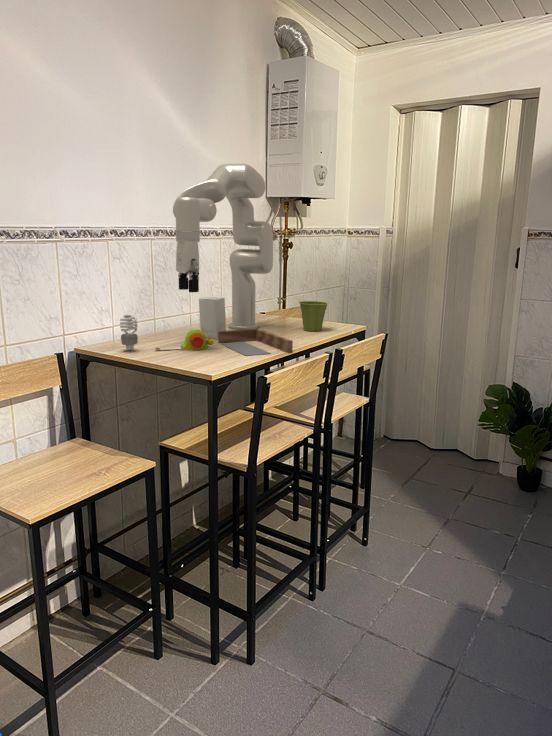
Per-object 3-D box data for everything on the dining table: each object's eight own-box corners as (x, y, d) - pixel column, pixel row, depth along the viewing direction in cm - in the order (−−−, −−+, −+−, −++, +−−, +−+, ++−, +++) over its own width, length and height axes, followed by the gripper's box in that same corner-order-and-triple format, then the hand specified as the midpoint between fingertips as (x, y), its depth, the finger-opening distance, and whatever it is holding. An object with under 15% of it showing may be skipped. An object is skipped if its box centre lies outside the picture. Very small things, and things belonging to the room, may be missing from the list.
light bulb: (117, 350, 189) (115, 314, 187) (132, 348, 194) (130, 312, 191) (127, 353, 186) (125, 316, 183) (142, 350, 190) (140, 314, 187)
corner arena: (218, 342, 206) (218, 331, 205) (258, 339, 213) (258, 328, 212) (249, 356, 184) (249, 344, 183) (292, 352, 191) (292, 340, 190)
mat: (220, 344, 203) (220, 343, 203) (243, 342, 207) (243, 341, 207) (245, 356, 185) (245, 355, 185) (270, 353, 189) (270, 353, 189)
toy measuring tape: (215, 350, 194) (215, 330, 192) (156, 352, 188) (155, 333, 186) (211, 346, 200) (211, 327, 198) (154, 349, 194) (153, 329, 192)
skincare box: (226, 337, 216) (226, 297, 212) (216, 339, 211) (216, 299, 207) (209, 334, 220) (208, 295, 217) (198, 337, 215) (198, 297, 212)
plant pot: (326, 333, 228) (328, 304, 225) (297, 332, 229) (297, 303, 227) (327, 328, 239) (328, 301, 237) (299, 327, 241) (299, 300, 238)
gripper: (168, 236, 191) (169, 288, 195) (185, 237, 176) (186, 293, 180) (189, 237, 195) (190, 288, 198) (208, 237, 180) (209, 293, 183)
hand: (188, 290), depth 189 cm, fingers open, 9 cm apart
